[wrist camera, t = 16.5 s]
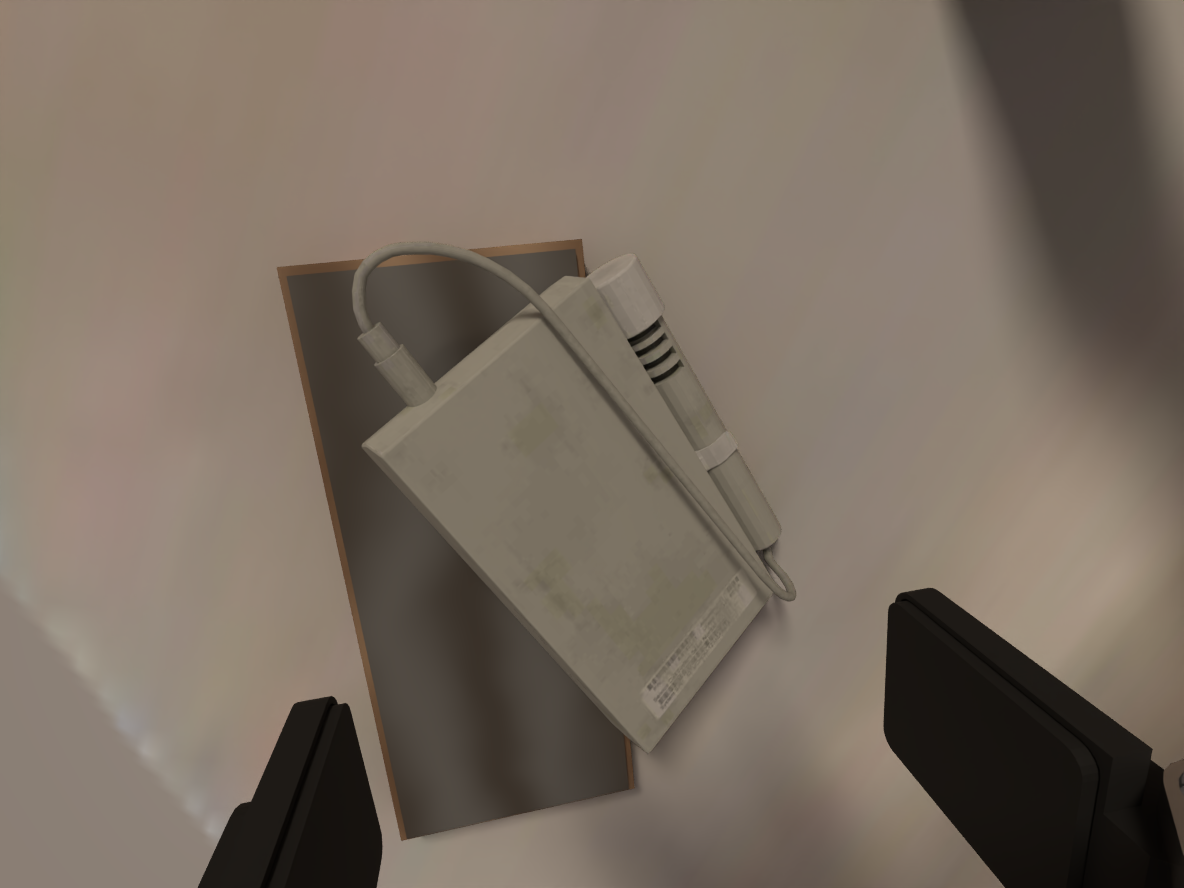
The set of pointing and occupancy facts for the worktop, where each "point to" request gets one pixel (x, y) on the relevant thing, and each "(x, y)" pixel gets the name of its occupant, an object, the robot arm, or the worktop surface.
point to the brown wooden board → (439, 558)
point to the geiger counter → (586, 485)
